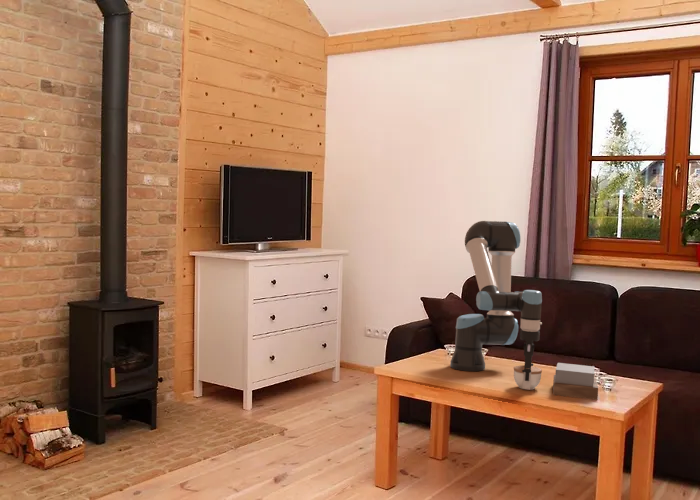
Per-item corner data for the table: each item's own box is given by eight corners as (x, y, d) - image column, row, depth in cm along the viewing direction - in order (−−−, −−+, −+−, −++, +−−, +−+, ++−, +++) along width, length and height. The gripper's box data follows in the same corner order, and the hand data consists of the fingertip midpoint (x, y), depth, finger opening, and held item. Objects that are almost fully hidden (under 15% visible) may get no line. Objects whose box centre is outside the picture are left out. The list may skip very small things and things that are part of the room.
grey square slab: (557, 375, 296) (557, 362, 295) (593, 379, 291) (594, 366, 291) (554, 382, 283) (555, 369, 282) (593, 386, 278) (594, 373, 278)
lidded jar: (520, 383, 298) (521, 360, 297) (545, 388, 291) (546, 364, 291) (507, 387, 290) (509, 363, 289) (533, 392, 283) (534, 368, 282)
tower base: (553, 387, 297) (553, 374, 296) (594, 391, 292) (595, 378, 292) (553, 396, 281) (554, 383, 281) (597, 401, 277) (598, 387, 277)
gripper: (539, 335, 277) (536, 393, 278) (540, 326, 299) (536, 379, 301) (519, 333, 279) (515, 391, 280) (521, 324, 301) (518, 378, 303)
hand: (526, 385), depth 290 cm, fingers closed on lidded jar, 11 cm apart
